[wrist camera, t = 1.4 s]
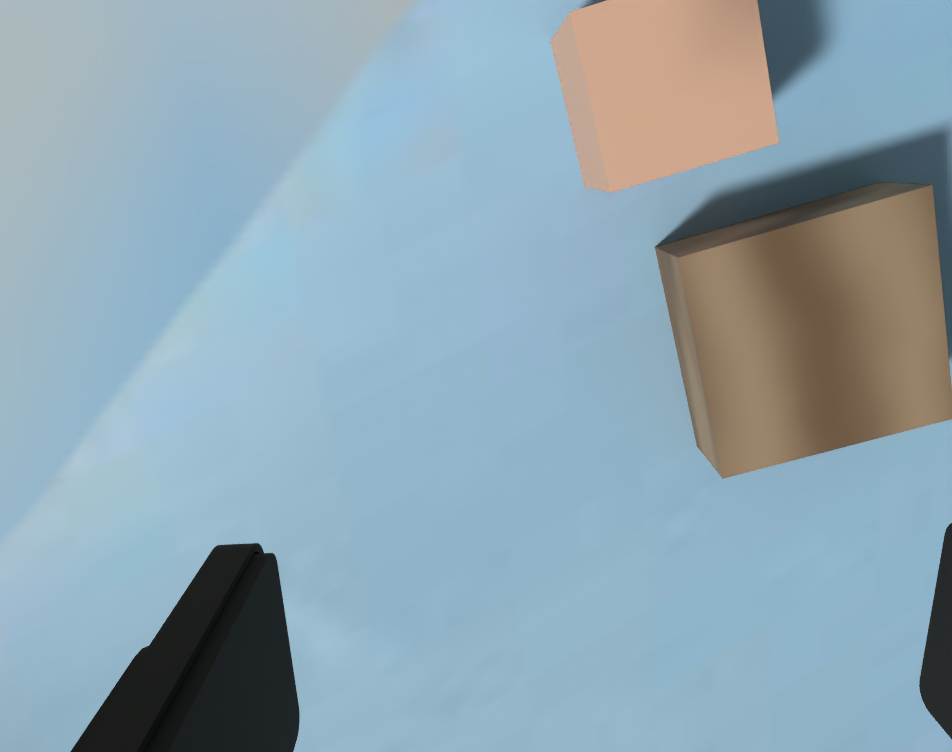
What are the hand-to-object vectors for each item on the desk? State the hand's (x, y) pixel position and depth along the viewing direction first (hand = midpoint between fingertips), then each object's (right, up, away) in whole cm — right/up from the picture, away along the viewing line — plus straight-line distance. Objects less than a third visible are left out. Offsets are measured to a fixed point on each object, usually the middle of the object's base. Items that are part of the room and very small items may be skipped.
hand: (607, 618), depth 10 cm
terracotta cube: (+5, +15, +20) cm, 25 cm away
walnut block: (+12, +6, +23) cm, 27 cm away
